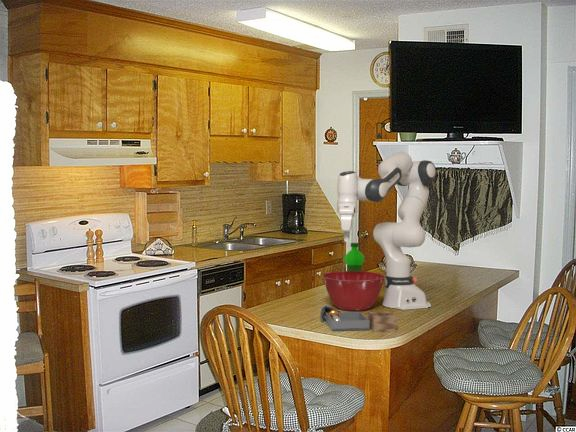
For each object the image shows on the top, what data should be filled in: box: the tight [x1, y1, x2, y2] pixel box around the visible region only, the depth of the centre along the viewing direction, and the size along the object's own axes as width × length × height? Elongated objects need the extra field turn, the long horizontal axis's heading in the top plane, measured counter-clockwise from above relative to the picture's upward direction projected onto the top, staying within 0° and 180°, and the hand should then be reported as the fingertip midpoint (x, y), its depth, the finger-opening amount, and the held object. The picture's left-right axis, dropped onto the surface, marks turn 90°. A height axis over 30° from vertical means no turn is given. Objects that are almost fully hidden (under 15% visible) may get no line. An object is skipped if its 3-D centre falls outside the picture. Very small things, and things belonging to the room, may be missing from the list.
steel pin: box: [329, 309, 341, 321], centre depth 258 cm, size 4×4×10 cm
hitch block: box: [367, 311, 397, 333], centre depth 253 cm, size 9×9×6 cm
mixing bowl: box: [322, 270, 385, 312], centre depth 290 cm, size 28×28×16 cm
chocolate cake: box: [319, 303, 341, 323], centre depth 269 cm, size 10×7×12 cm
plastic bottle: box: [344, 242, 365, 271], centre depth 332 cm, size 10×10×25 cm
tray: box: [325, 311, 370, 332], centre depth 258 cm, size 15×15×4 cm
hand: (346, 240), depth 276 cm, fingers open, 8 cm apart
